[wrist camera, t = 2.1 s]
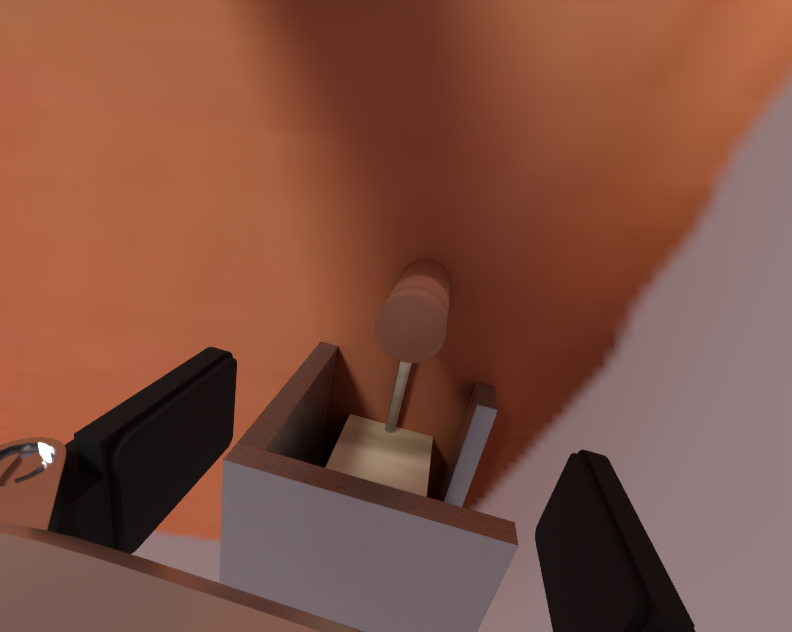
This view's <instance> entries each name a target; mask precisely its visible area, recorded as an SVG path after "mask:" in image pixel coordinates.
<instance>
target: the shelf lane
mask: <svg viewBox="0 0 792 632" xmlns="http://www.w3.org/2000/svg"><path fill="white" fill-rule="evenodd" d="M337 349H338V346H335V345H331V344H327V343H323V342H320V343H319V344H318V345H317V347H316V348H315V349H314V350H313V352H312V353H311V354H310V355H309V356H308V358H307V359H306V360H305V361H304V362H303V364H302V365H301V366H300V367H299V368H298V370H297V371H296V372H295V373H294V375H293V376H292V377H291V378H290V379H289V381H288V382H287V383H286V384H285V385H284V387H283V388H282V389H281V390H280V392H279V393H278V394H277V395H276V396H275V398H274V399H273V400H272V401H271V402H270V404H269V405H268V406H267V407H266V408H265V410H264V411H263V412H262V413H261V415H260V416H259V417H258V418H257V419H256V421H255V422H254V423H253V424H252V425H251V427H250V428H249V429H248V430H247V431H246V433H245V434H244V435H243V436H242V438H241V439H240V440H239V441H238V442H237V444H236V445H235V446H234V447H233V448H232V450H231V451H230V452H229V453H228V454H227V456H226V457H225V458H224V459H223V483H222V516H221V551H220V584H223V585H227V586H230V587H233V588H236V589H239V590H242V591H245V592H248V593H251V594H254V595H257V596H260V597H263V598H266V599H269V600H272V601H275V602H278V603H281V604H284V605H287V606H290V607H293V608H296V609H299V610H302V611H305V612H308V613H311V614H314V615H317V616H320V617H323V618H326V619H329V620H332V621H335V622H338V623H341V624H344V625H347V626H350V627H352V628H355V629H358V630H361V631H364V632H477V631H478V629H479V627H480V624H481V622H482V620H483V618H484V616H485V614H486V612H487V610H488V607H489V606H490V603H491V601H492V599H493V597H494V595H495V593H496V591H497V589H498V587H499V585H500V582H501V581H502V578H503V576H504V574H505V572H506V570H507V568H508V566H509V564H510V562H511V560H512V558H513V555H514V553H515V551H516V549H517V547H518V541H517V535H516V528H515V522H512V521H508V520H505V519H501V518H498V517H494V516H491V515H487V514H484V513H480V512H477V511H473V510H470V509H467V508H463V507H462V506H463V503H464V500H465V497H466V495H467V492H468V489H469V487H470V484H471V481H472V479H473V476H474V473H475V471H476V468H477V465H478V462H479V460H480V457H481V454H482V452H483V449H484V446H485V444H486V441H487V438H488V436H489V433H490V430H491V428H492V425H493V422H494V419H495V417H496V414H497V411H498V407H497V401H496V394H495V387H492V386H488V385H484V384H480V383H476V384H475V387H474V390H473V393H472V396H471V399H470V402H469V405H468V408H467V411H466V414H465V417H464V420H463V423H462V426H461V429H460V432H459V435H458V438H457V441H456V444H455V447H454V450H453V453H452V456H451V459H450V462H449V465H448V468H447V471H446V474H445V477H444V480H443V483H442V486H441V489H440V492H439V495H438V498H437V500H435V499H432V498H428V497H425V496H421V495H418V494H414V493H411V492H407V491H404V490H400V489H397V488H393V487H390V486H386V485H383V484H379V483H376V482H372V481H369V480H365V479H362V478H359V477H355V476H352V475H348V474H345V473H341V472H338V471H334V470H331V469H327V468H324V467H320V466H319V462H320V456H321V450H322V444H323V437H324V431H325V425H326V418H327V412H328V406H329V399H330V393H331V387H332V381H333V374H334V368H335V362H336V355H337Z"/></svg>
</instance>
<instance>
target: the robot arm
mask: <svg viewBox="0 0 792 632" xmlns="http://www.w3.org/2000/svg"><path fill="white" fill-rule="evenodd" d="M236 373H237V361H236V359H234V358H233V356H232V353H230V352H228V351H225V350H221V349H217V348H214V347H209V348H206V349H205V350H203V351H202V352H200V353H199V354H197V355H196V356H194V357H192V358H191V359H189V360H188V361H186V362H185V363H183V364H182V365H180V366H179V367H177V368H175V369H174V370H172V371H171V372H169V373H168V374H166V375H165V376H163V377H161V378H160V379H158V380H157V381H155V382H154V383H152V384H151V385H149V386H148V387H146V388H144V389H143V390H141V391H140V392H138V393H137V394H135V395H134V396H132V397H130V398H129V399H127V400H126V401H124V402H123V403H121V404H120V405H118V406H117V407H115V408H113V409H112V410H110V411H109V412H107V413H106V414H104V415H103V416H101V417H99V418H98V419H96V420H95V421H93V422H92V423H90V424H89V425H87V426H86V427H84V428H82V429H81V430H79V431H78V432H76V433H75V434H74V439H73V440H72V441H70V442H69V443H67V444H66V445H63V444H62V443H61V442H60V441H57V440H55V439H52V438H43V437H37V438H25V439H21V440H16V441H11V442H8V443H6V444H3V445H0V632H364V631H361V630H358V629H355V628H352V627H350V626H347V625H344V624H341V623H338V622H335V621H332V620H329V619H326V618H323V617H320V616H317V615H314V614H311V613H308V612H305V611H302V610H299V609H296V608H293V607H290V606H287V605H284V604H281V603H278V602H275V601H272V600H269V599H266V598H263V597H260V596H257V595H254V594H251V593H248V592H245V591H242V590H239V589H236V588H233V587H230V586H227V585H223V584H220V583H217V582H214V581H211V580H208V579H205V578H202V577H199V576H196V575H193V574H190V573H187V572H184V571H181V570H178V569H175V568H171V567H168V566H166V565H162V564H159V563H156V562H153V561H150V560H147V559H144V558H141V557H137V556H134V555H131V554H132V553H133V552H135V551H136V550H137V549H138V548H139V547H140V546H141V544H142V543H143V542H144V541H145V540H146V539H147V538H148V537H149V536H150V534H151V533H152V532H153V531H154V530H155V529H156V528H157V527H158V525H159V524H160V523H161V522H162V521H163V520H164V519H165V518H166V516H167V515H168V514H169V513H170V512H171V511H172V510H173V509H174V508H175V506H176V505H177V504H178V503H179V502H180V501H181V500H182V499H183V497H184V496H185V495H186V494H187V493H188V492H189V491H190V490H191V488H192V487H193V486H194V485H195V484H196V483H197V482H198V481H199V479H200V478H201V477H202V476H203V475H204V474H205V473H206V472H207V470H208V469H209V468H210V467H211V466H212V465H213V464H214V463H215V462H216V460H217V459H218V458H219V457H220V456H221V455H222V454H223V453H224V451H225V450H226V449H227V448H228V447H229V445H230V443H231V441H232V437H233V425H234V408H235V391H236ZM535 541H536V547H537V552H538V557H539V562H540V567H541V572H542V577H543V582H544V587H545V593H546V598H547V603H548V608H549V613H550V618H551V623H552V628H553V632H695V630H694V624H693V622H692V620H691V618H690V616H689V614H688V612H687V610H686V608H685V606H684V605H683V603H682V601H681V599H680V597H679V595H678V593H677V591H676V589H675V587H674V585H673V583H672V581H671V579H670V577H669V575H668V574H667V572H666V570H665V568H664V566H663V564H662V562H661V560H660V558H659V556H658V554H657V552H656V551H655V548H654V546H653V544H652V543H651V541H650V539H649V537H648V535H647V533H646V531H645V529H644V527H643V525H642V523H641V521H640V520H639V517H638V515H637V514H636V512H635V510H634V508H633V506H632V504H631V502H630V500H629V498H628V496H627V494H626V493H625V490H624V489H623V486H622V485H621V483H620V481H619V479H618V477H617V475H616V473H615V471H614V469H613V467H612V465H611V463H610V461H609V460H608V458H607V457H606V456H604V455H601V454H597V453H593V452H590V451H586V450H580V451H579V452H578V454H576V453H573V454H571V455H570V457H569V459H568V461H567V463H566V466H565V467H564V470H563V472H562V474H561V476H560V478H559V480H558V482H557V484H556V486H555V489H554V491H553V493H552V495H551V497H550V499H549V501H548V503H547V506H546V508H545V510H544V512H543V514H542V516H541V518H540V520H539V523H538V525H537V527H536V532H535Z"/></svg>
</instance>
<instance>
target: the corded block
mask: <svg viewBox="0 0 792 632" xmlns="http://www.w3.org/2000/svg"><path fill="white" fill-rule="evenodd" d="M450 290H451V280H450V277H449V274H448V272H447V271H446V269H445V268H444V267H443V266H442V265H440V264H439V263H437V262H435V261H432V260H418V261H415V262H413V263H411V264H410V265H409V266H408V267H406V269H405V270H404V272H403V273H402V275H401V277H400V278H399V280H398V282H397V284H396V285H395V287H394V289H393V291H392V292H391V294H390V296H389V298H388V299H387V301H386V303H385V305H384V306H383V308H382V310H381V312H380V313H379V315H378V317H377V320H376V326H375V331H376V337H377V340H378V342H379V344H380V346H381V347H382V348H383V350H384V351H385V352H386V353H387V354H388V355H390V356H391V357H393V358H394V359H397V360H399V361H401V362H400V367H399V371H398V375H397V379H396V384H395V388H394V392H393V396H392V401H391V405H390V409H389V413H388V418H387V422H386V424H385V423H381V422H378V421H374V420H370V419H367V418H363V417H360V416H356V415H352V414H350V415H349V417H348V419H347V421H346V424H345V426H344V428H343V430H342V432H341V434H340V437H339V439H338V441H337V443H336V445H335V447H334V450H333V452H332V454H331V456H330V458H329V461H328V463H327V465H326V467H325V468H327V469H331V470H334V471H338V472H341V473H345V474H348V475H352V476H355V477H359V478H362V479H365V480H369V481H372V482H376V483H379V484H383V485H386V486H390V487H393V488H397V489H400V490H404V491H407V492H411V493H414V494H418V495H421V496H425V497H427V487H428V478H429V469H430V460H431V451H432V442H433V437H432V436H429V435H425V434H422V433H418V432H414V431H411V430H407V429H403V428H400V427H396V424H397V420H398V416H399V412H400V408H401V404H402V400H403V396H404V392H405V388H406V384H407V380H408V376H409V372H410V368H411V364H412V363H419V362H423V361H426V360H429V359H430V358H432V357H434V356H435V355H436V354H437V353H438V352H439V351H440V350H441V348H442V346H443V345H444V342H445V338H446V331H447V320H448V310H449V300H450Z"/></svg>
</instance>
